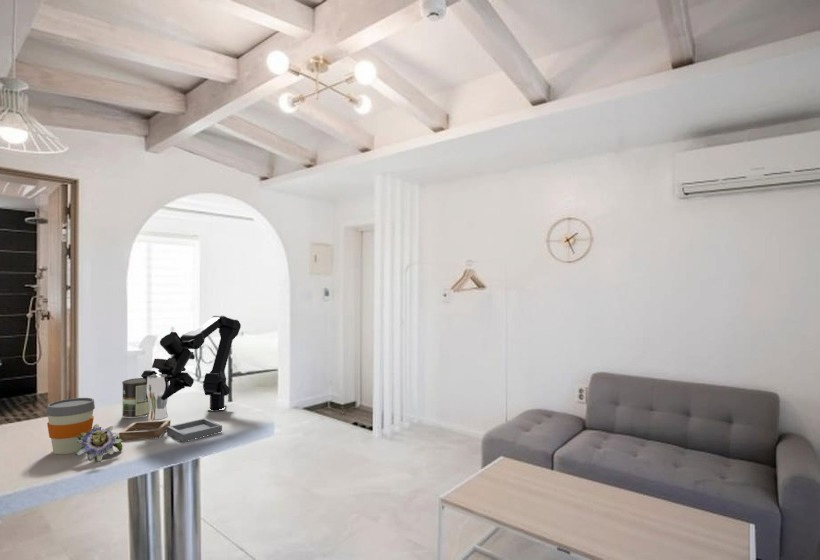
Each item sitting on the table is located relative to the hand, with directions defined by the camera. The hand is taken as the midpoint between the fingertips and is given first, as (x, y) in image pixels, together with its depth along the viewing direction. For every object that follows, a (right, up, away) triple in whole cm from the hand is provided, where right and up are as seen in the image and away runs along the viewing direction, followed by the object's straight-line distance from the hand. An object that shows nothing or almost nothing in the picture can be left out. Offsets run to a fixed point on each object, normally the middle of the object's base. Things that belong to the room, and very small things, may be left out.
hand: (154, 399), depth 159 cm
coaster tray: (+13, -13, +2) cm, 18 cm away
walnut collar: (-4, -13, +2) cm, 14 cm away
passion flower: (-6, -13, -20) cm, 24 cm away
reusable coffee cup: (-20, -13, -13) cm, 27 cm away
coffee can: (-21, -13, +24) cm, 35 cm away
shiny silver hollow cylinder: (0, -7, +1) cm, 7 cm away
